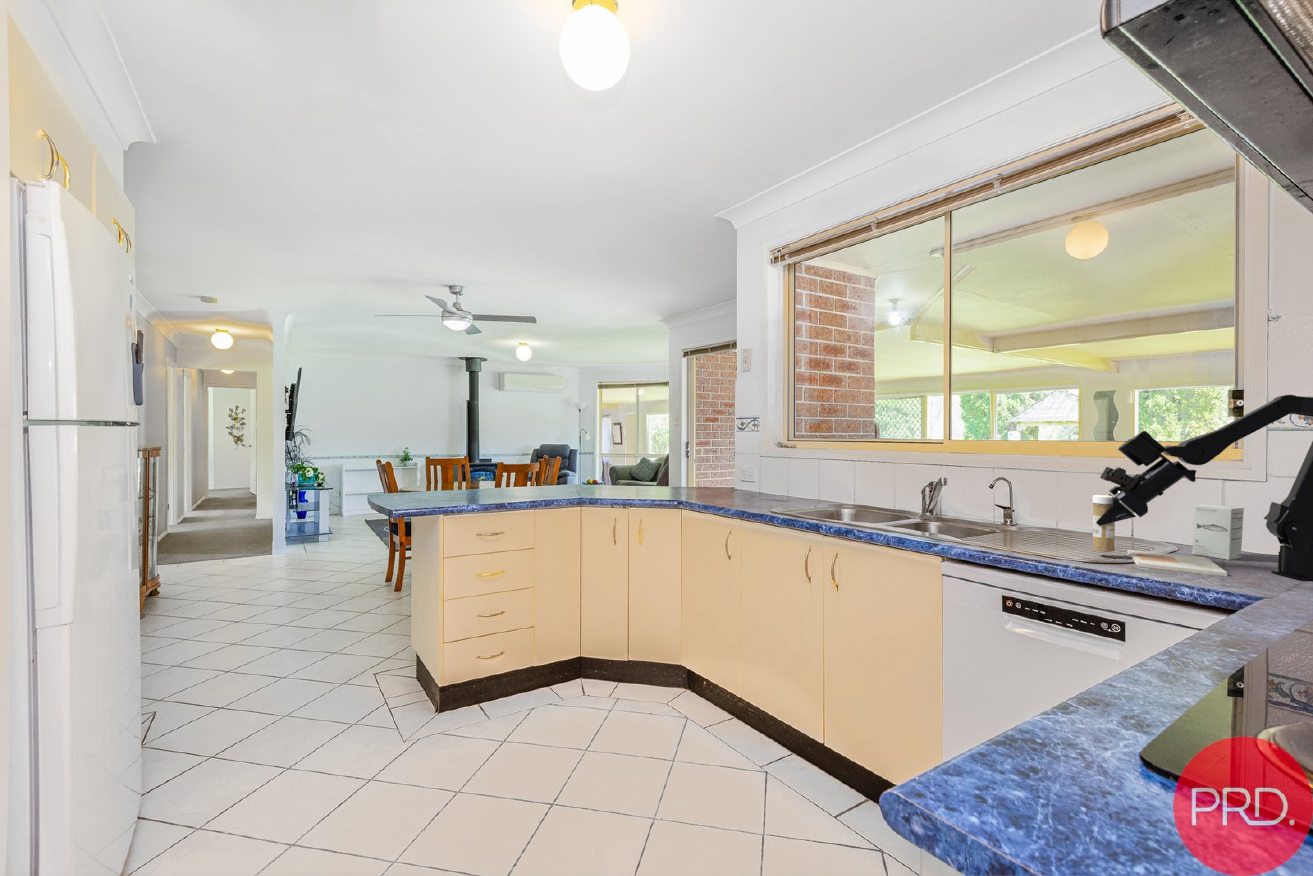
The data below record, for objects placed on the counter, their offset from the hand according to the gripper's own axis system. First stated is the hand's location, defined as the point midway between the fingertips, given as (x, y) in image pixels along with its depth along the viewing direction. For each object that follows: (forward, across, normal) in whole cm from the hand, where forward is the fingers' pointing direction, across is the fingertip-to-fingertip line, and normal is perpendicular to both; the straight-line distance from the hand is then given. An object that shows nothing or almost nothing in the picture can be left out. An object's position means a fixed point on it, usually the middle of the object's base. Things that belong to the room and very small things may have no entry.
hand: (1096, 523), depth 148 cm
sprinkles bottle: (+4, 0, +6) cm, 7 cm away
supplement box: (-12, -19, +24) cm, 33 cm away
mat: (-4, 0, +16) cm, 17 cm away
